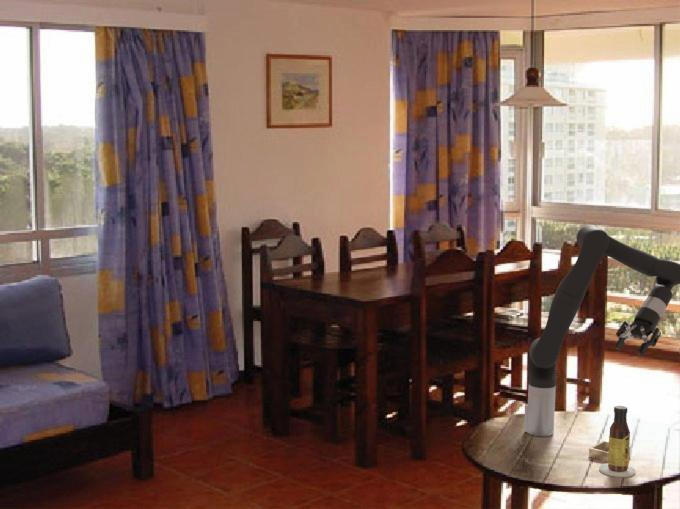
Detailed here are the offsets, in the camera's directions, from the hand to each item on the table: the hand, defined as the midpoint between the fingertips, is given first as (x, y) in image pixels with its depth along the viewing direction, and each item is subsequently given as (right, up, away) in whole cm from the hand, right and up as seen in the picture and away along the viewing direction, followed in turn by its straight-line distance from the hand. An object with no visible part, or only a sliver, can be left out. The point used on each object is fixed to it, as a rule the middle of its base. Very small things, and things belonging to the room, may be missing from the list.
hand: (628, 351), depth 350 cm
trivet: (-9, -36, -19) cm, 41 cm away
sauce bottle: (-8, -35, -19) cm, 41 cm away
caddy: (-8, -34, -5) cm, 35 cm away
